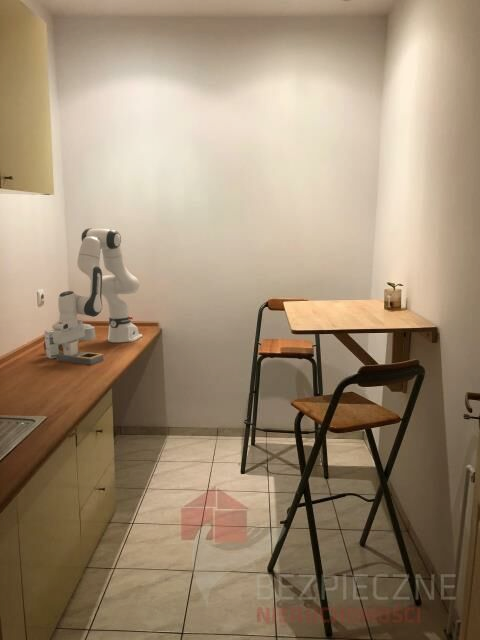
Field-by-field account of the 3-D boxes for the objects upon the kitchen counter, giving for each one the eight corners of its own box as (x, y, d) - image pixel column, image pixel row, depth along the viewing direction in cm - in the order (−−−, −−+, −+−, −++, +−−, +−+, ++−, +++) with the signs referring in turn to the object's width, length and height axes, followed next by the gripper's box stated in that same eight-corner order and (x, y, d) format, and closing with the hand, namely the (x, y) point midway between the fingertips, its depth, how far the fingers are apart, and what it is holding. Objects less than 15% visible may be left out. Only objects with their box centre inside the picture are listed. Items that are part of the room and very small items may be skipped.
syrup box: (50, 359, 280) (48, 331, 277) (46, 356, 284) (44, 330, 281) (61, 357, 283) (59, 330, 280) (56, 355, 288) (54, 328, 285)
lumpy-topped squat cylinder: (75, 337, 330) (74, 323, 329) (96, 336, 332) (95, 323, 330) (71, 341, 320) (70, 327, 318) (93, 340, 321) (93, 326, 320)
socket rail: (70, 356, 285) (70, 350, 285) (103, 360, 276) (103, 354, 276) (57, 360, 276) (56, 354, 276) (90, 365, 267) (90, 358, 267)
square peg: (70, 357, 282) (69, 340, 280) (78, 357, 280) (77, 341, 278) (64, 359, 278) (62, 342, 276) (71, 360, 276) (70, 343, 274)
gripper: (77, 319, 286) (79, 344, 288) (49, 326, 267) (51, 353, 270) (87, 319, 283) (88, 345, 286) (59, 327, 265) (61, 354, 268)
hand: (70, 349), depth 278 cm, fingers closed on square peg, 5 cm apart
